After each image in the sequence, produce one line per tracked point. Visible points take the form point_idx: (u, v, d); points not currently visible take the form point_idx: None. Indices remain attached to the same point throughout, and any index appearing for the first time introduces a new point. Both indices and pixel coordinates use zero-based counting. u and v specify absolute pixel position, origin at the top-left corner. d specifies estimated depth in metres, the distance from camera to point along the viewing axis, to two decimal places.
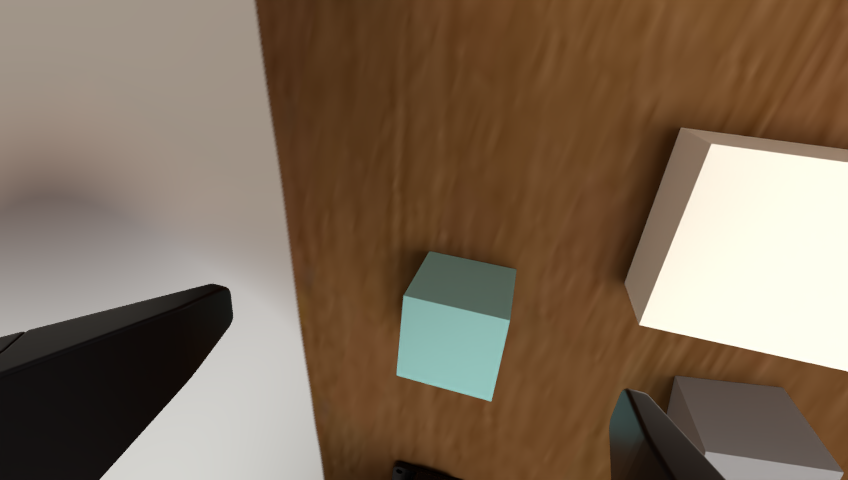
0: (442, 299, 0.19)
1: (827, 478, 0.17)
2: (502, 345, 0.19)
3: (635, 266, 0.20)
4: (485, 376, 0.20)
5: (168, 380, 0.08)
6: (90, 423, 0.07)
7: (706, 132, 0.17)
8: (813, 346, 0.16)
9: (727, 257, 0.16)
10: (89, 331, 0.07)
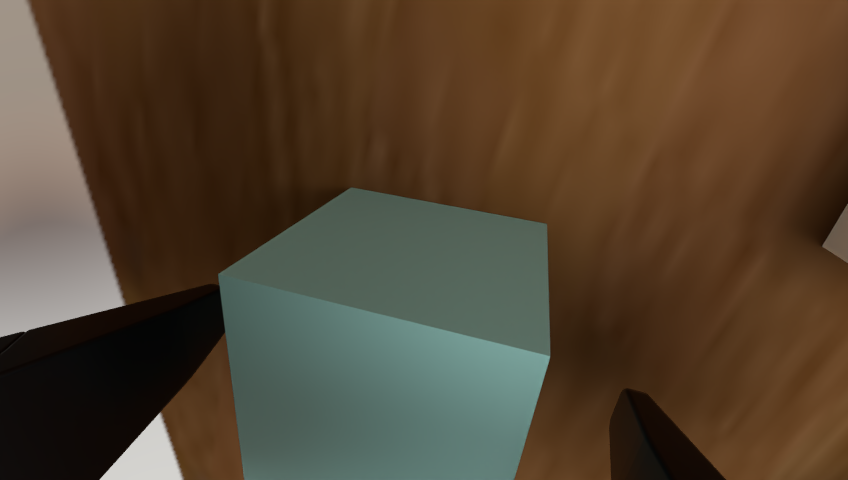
0: (338, 285, 0.06)
1: None
2: (522, 433, 0.06)
3: None
4: None
5: (168, 380, 0.08)
6: (90, 423, 0.07)
7: None
8: None
9: None
10: (89, 331, 0.07)
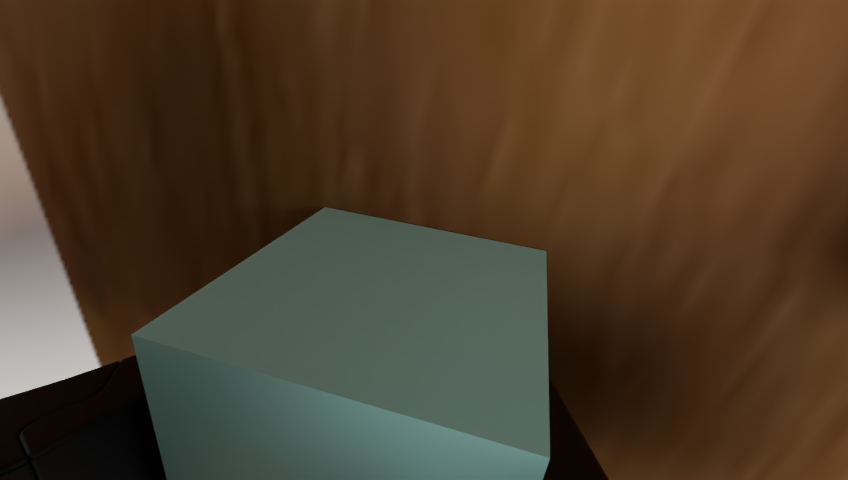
0: (284, 347, 0.05)
1: None
2: None
3: None
4: None
5: None
6: None
7: None
8: None
9: None
10: None
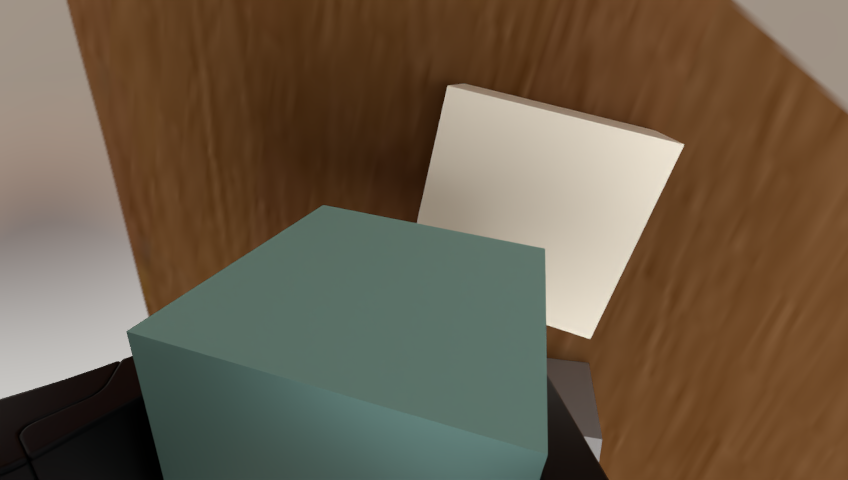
0: (281, 345, 0.05)
1: None
2: None
3: None
4: None
5: None
6: None
7: (481, 88, 0.17)
8: (556, 310, 0.16)
9: (474, 210, 0.16)
10: None
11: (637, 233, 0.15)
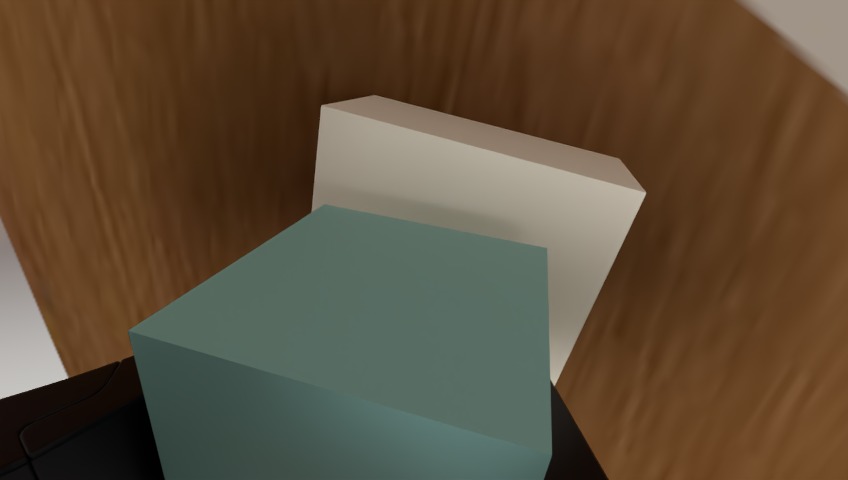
0: (283, 344, 0.05)
1: None
2: None
3: None
4: None
5: None
6: None
7: (393, 102, 0.13)
8: None
9: None
10: None
11: (586, 308, 0.11)
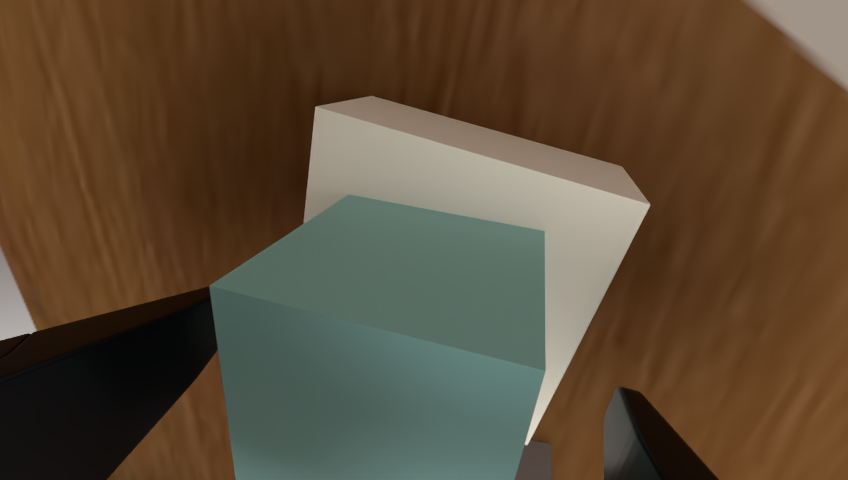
0: (332, 296, 0.06)
1: None
2: (517, 448, 0.06)
3: None
4: None
5: (173, 382, 0.08)
6: (96, 425, 0.07)
7: (390, 104, 0.13)
8: None
9: None
10: (95, 333, 0.07)
11: (585, 320, 0.10)
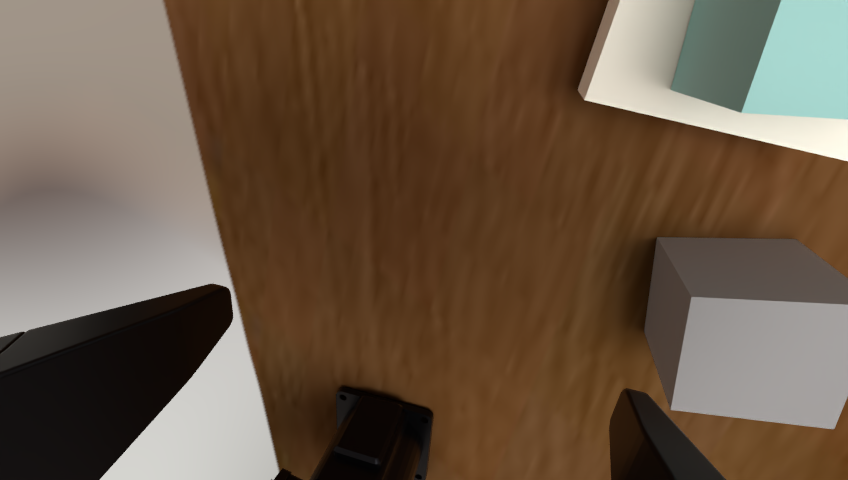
0: None
1: None
2: None
3: (592, 52, 0.15)
4: None
5: (168, 380, 0.08)
6: (90, 423, 0.07)
7: None
8: (816, 123, 0.12)
9: None
10: (89, 331, 0.07)
11: None
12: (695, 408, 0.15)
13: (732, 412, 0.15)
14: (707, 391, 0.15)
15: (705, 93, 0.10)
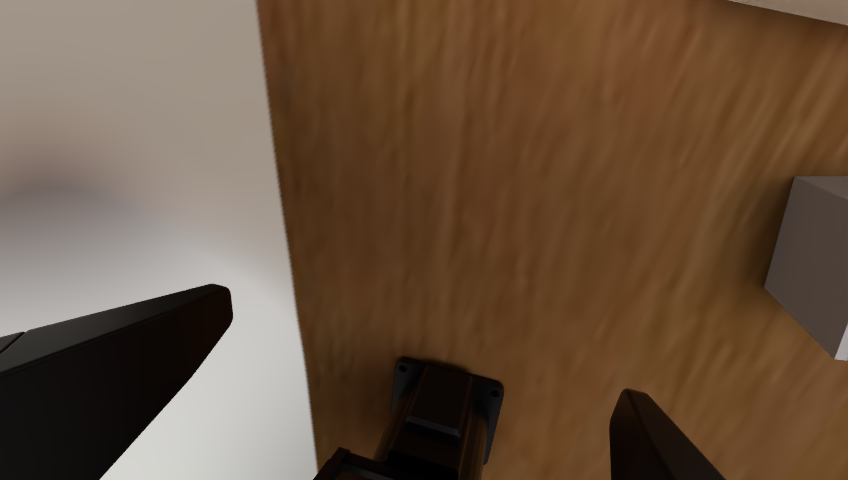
0: None
1: None
2: None
3: None
4: None
5: (168, 380, 0.08)
6: (90, 423, 0.07)
7: None
8: None
9: None
10: (89, 331, 0.07)
11: None
12: None
13: None
14: None
15: None
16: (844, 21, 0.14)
